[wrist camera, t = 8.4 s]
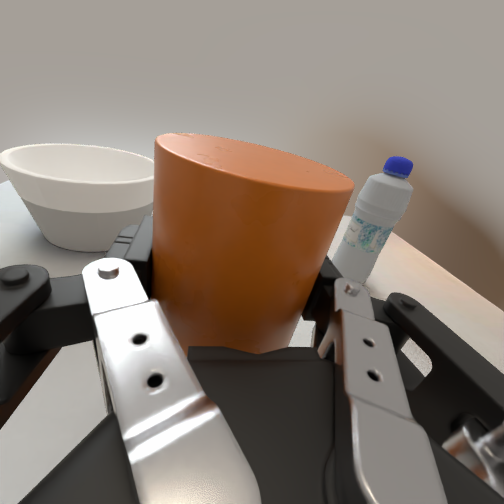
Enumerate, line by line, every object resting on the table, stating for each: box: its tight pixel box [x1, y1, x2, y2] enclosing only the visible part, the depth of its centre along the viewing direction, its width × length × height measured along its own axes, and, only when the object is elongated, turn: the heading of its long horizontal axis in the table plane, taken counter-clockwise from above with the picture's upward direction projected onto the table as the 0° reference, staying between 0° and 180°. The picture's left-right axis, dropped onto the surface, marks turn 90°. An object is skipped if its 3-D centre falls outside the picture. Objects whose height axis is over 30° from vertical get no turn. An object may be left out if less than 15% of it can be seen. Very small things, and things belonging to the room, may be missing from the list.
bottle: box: [332, 157, 413, 284], centre depth 38 cm, size 7×7×20 cm
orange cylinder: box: [151, 133, 354, 357], centre depth 11 cm, size 6×6×12 cm
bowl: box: [0, 144, 154, 252], centre depth 38 cm, size 19×19×11 cm
